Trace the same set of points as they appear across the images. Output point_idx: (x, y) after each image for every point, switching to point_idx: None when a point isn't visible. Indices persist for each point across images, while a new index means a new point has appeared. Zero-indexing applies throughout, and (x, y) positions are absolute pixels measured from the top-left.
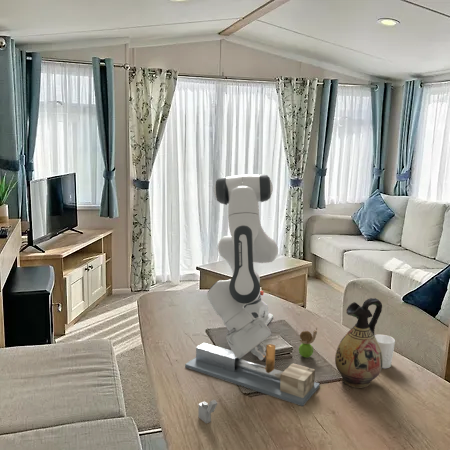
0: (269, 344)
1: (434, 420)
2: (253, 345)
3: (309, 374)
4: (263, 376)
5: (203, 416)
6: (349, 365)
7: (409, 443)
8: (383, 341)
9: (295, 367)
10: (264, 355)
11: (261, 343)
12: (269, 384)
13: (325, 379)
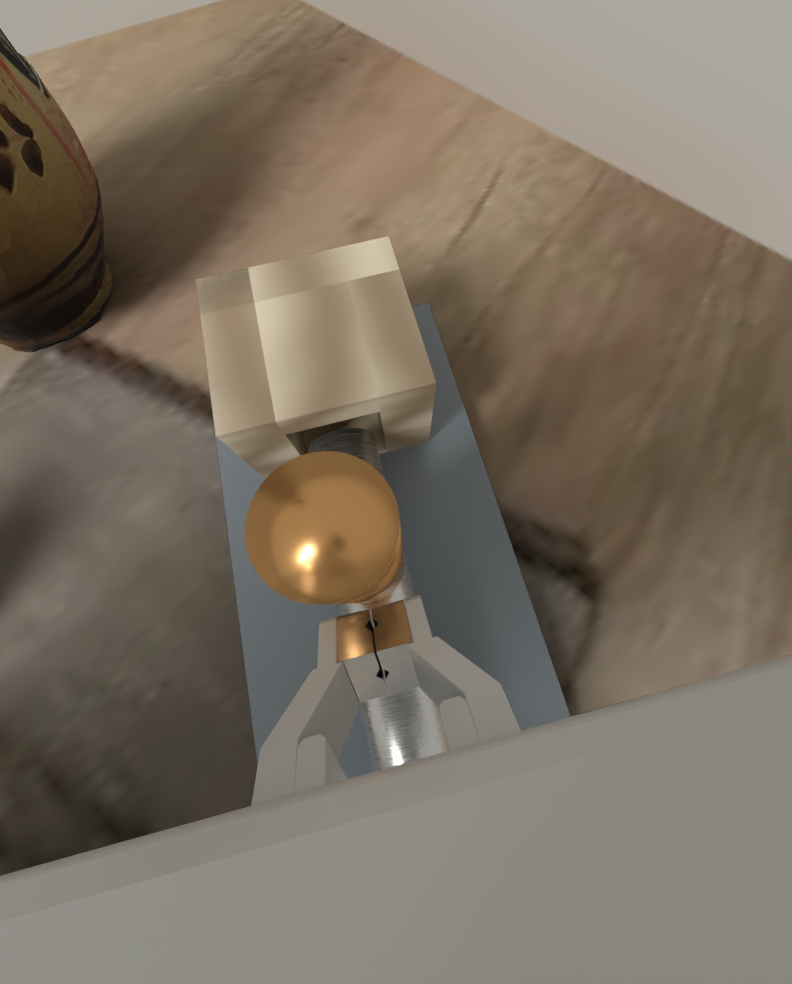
0: (289, 579)
1: (162, 37)
2: (590, 751)
3: (285, 263)
4: None
5: None
6: (38, 116)
7: (339, 28)
8: None
9: (265, 376)
10: (380, 615)
11: (274, 793)
12: (424, 527)
13: (123, 390)
